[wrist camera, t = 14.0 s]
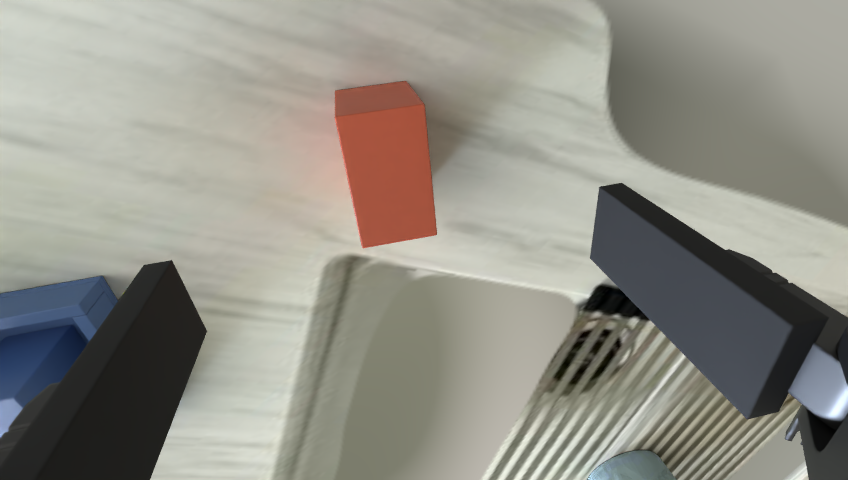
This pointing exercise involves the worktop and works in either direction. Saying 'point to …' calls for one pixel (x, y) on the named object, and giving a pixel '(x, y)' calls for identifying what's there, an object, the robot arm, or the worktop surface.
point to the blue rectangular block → (34, 366)
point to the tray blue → (57, 307)
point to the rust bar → (387, 162)
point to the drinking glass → (633, 467)
